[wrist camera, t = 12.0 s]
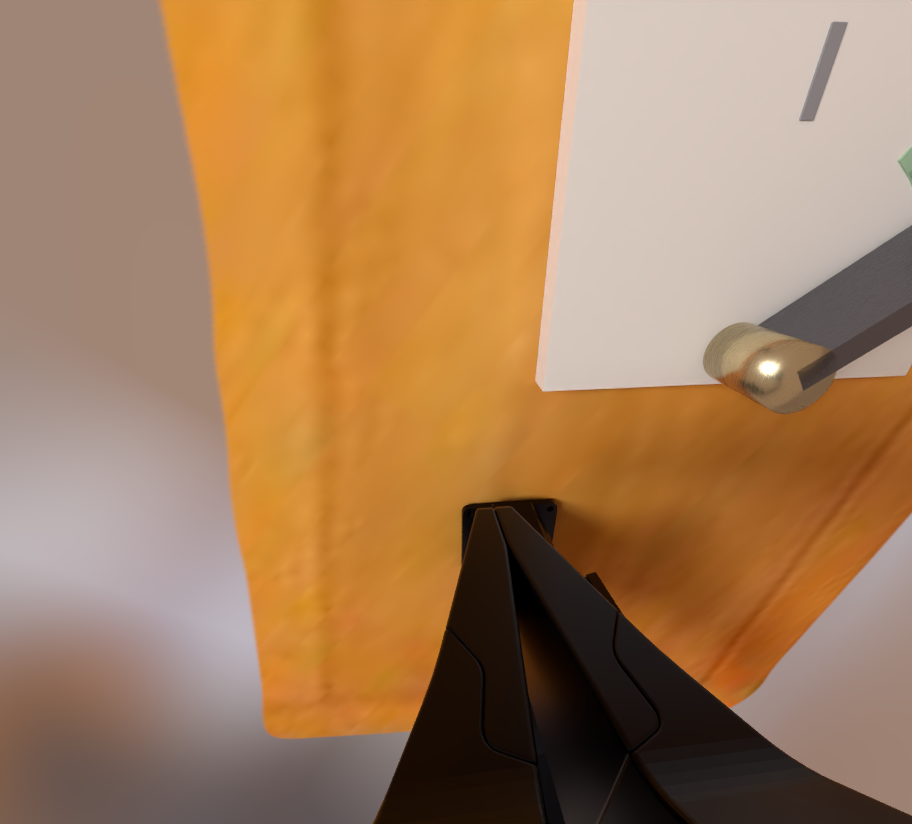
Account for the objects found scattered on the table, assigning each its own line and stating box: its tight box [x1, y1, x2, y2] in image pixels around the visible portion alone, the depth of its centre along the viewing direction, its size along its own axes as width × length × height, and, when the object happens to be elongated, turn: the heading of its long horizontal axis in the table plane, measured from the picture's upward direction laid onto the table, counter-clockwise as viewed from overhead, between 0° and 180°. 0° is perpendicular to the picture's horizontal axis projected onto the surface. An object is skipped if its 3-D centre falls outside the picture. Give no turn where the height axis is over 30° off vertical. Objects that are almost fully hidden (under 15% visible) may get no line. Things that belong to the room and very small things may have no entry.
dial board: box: [535, 0, 912, 391], centre depth 18 cm, size 20×22×2 cm
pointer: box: [703, 225, 912, 414], centre depth 17 cm, size 16×3×4 cm, turn 127°
